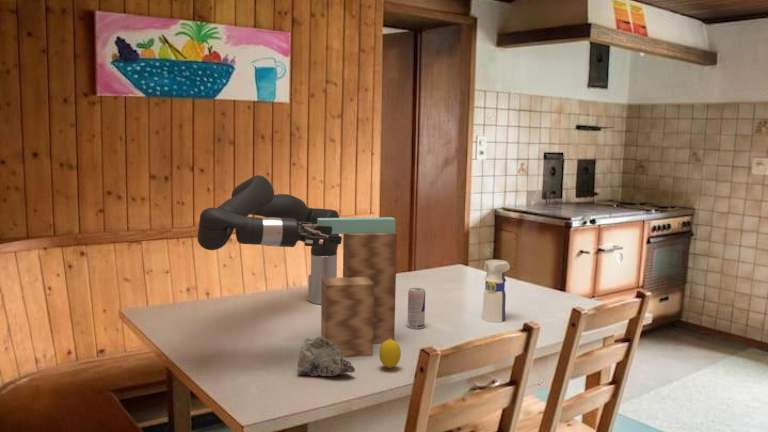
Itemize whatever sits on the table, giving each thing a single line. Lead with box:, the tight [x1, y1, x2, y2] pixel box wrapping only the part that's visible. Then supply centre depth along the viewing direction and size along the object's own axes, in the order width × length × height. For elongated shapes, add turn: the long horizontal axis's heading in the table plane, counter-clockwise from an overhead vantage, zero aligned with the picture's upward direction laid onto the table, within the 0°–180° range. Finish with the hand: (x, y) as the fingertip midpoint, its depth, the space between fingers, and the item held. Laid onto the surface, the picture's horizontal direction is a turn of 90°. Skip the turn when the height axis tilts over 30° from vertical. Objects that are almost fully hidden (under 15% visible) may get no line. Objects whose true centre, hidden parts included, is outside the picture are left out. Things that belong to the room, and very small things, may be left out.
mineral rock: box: [297, 335, 356, 377], centre depth 164 cm, size 13×11×10 cm
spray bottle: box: [481, 245, 511, 323], centre depth 216 cm, size 8×9×25 cm
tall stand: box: [342, 232, 398, 345], centre depth 191 cm, size 14×8×32 cm, turn 103°
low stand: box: [320, 276, 374, 358], centre depth 181 cm, size 13×9×20 cm
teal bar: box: [317, 216, 396, 235], centre depth 188 cm, size 22×4×4 cm, turn 103°
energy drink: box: [406, 287, 426, 330], centre depth 206 cm, size 5×5×12 cm
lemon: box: [378, 339, 402, 370], centre depth 170 cm, size 6×6×8 cm
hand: (336, 235), depth 177 cm, fingers open, 8 cm apart
